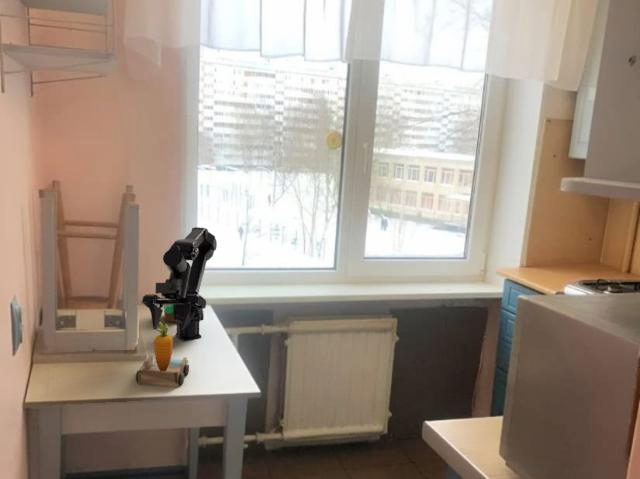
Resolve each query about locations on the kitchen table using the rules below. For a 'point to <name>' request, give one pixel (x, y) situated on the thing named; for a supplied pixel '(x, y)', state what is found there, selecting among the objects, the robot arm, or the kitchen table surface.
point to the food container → (169, 313)
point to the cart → (162, 373)
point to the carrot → (163, 348)
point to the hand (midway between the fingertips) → (168, 329)
